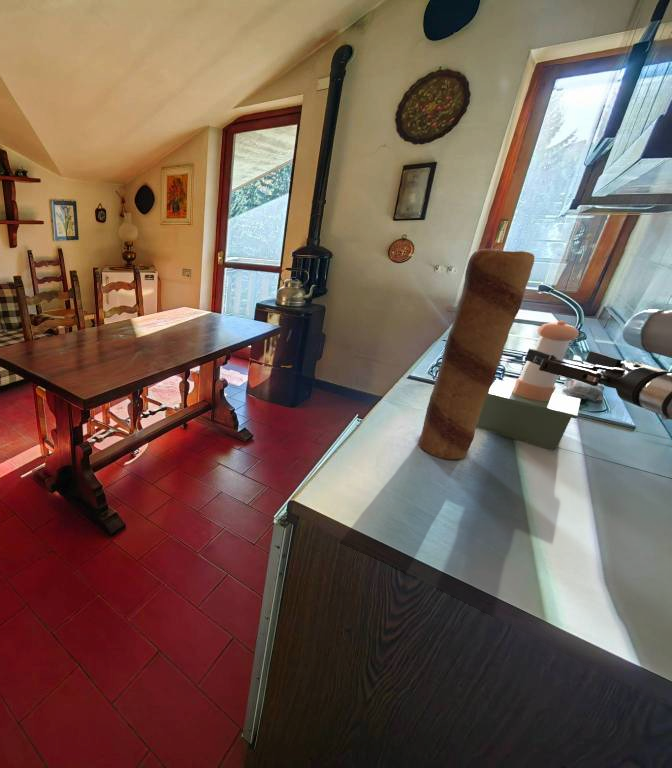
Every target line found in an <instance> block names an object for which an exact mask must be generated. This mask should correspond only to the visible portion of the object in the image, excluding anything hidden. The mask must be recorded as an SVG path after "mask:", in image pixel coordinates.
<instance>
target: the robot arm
mask: <svg viewBox="0 0 672 768" xmlns="http://www.w3.org/2000/svg"><path fill="white" fill-rule="evenodd" d="M621 331H622V333H621V334H622V339H623V341H624V342H625V343H626V344H627V345H629V346H631V347H633V348H636V349H639V350H641V351H643V352H646V353H648V354H649V353H650V354H655V355H659V356H663V357H667V358H670V359H672V309H671V310H666V309H648V310H643V311H640V312H638V313H636V314H634V315H633V316H631V317H630V318H629V319H628V320H627V321H626V323H624V326H623V328H622V330H621ZM554 356H555V355H548V354H545V353H543V352H540V351H537V350H534V348H528V351H527V353H526V355H525V358H524V360H525V361H526V362H527V361H530V362H532V363H535V364H537V365H540V367H539V370H541V371H545V372H548V373H552V374H556V375H559V376H558V377H563V378H567V379H570V380H575V381H576V380H577V381H581V382H584V383H587V384H590V385H592V386H597V385H598V384H599V385H602V386H604V387H606V388H611V389H615V391H616V394H617V396H618V397H619V399H621V400H622V401H624V402H626V403H629V404H632V405H634V406H637V407H639V408H642V409H644V410H647V411H650V412H652V413H654V414H657V415H660V416H661V419H663V420H667V421H668V420H671V421H672V371H669V370H667V369H666V370H665V369H662V368H660V367H656V366H652V365H651V366H650V365H647V364H645V363H644V362H641V361H635V362H634V363H632V361H630V360H623V359H621V358H617V357H614V356H611V355H607V354H604V353H601V352H597V351H595V350H589V352H588V354H587V356H586V358H585V361H584V362H585V363H588V364H589V365H587V364H582V363H577V362H572V361H568V360H564V359H563V360H558V359H556V357H554ZM591 365H592V366H591ZM599 370H600V372H599Z"/></svg>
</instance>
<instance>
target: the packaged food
mask: <svg viewBox="0 0 672 768" xmlns="http://www.w3.org/2000/svg"><path fill="white" fill-rule="evenodd" d="M563 384H564V385H565V386H566V389H563V390H562V392H563V394H564V395H566V396H570V397H574V398H579V399H581V400H586V401H590V402H593V403H599V402H602V401H603V399H604V390H605V386H604V385H602V384H598V385H597V386H592V385H590V384H587V383H584V382H581V381H578V380H574V379H572V380H569V381H565V382H563Z"/></svg>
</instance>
